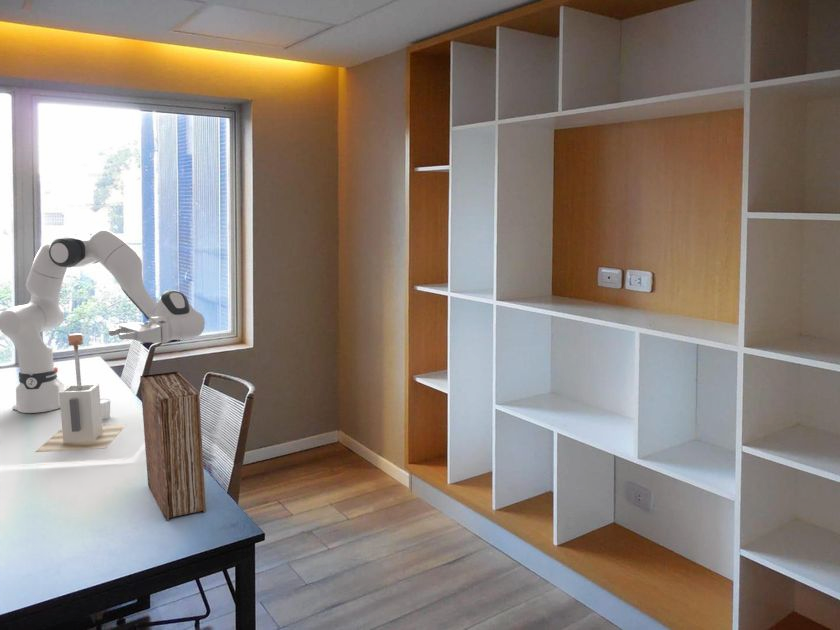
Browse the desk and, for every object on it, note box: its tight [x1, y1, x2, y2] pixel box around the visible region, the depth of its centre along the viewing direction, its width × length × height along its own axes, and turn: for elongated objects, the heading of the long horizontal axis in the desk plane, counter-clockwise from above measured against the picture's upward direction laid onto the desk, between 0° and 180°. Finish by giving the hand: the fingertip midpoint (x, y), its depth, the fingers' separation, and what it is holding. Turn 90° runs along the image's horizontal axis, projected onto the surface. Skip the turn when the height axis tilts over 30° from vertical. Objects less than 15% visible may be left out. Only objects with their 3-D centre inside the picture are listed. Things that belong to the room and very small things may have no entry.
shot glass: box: [100, 398, 111, 420], centre depth 243 cm, size 7×7×7 cm
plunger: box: [67, 333, 84, 391], centre depth 219 cm, size 6×6×24 cm
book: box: [139, 371, 207, 522], centre depth 175 cm, size 25×9×30 cm, turn 30°
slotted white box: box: [59, 383, 103, 443], centre depth 220 cm, size 11×9×16 cm
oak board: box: [35, 423, 127, 453], centre depth 222 cm, size 24×20×1 cm
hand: (114, 334), depth 225 cm, fingers open, 8 cm apart
